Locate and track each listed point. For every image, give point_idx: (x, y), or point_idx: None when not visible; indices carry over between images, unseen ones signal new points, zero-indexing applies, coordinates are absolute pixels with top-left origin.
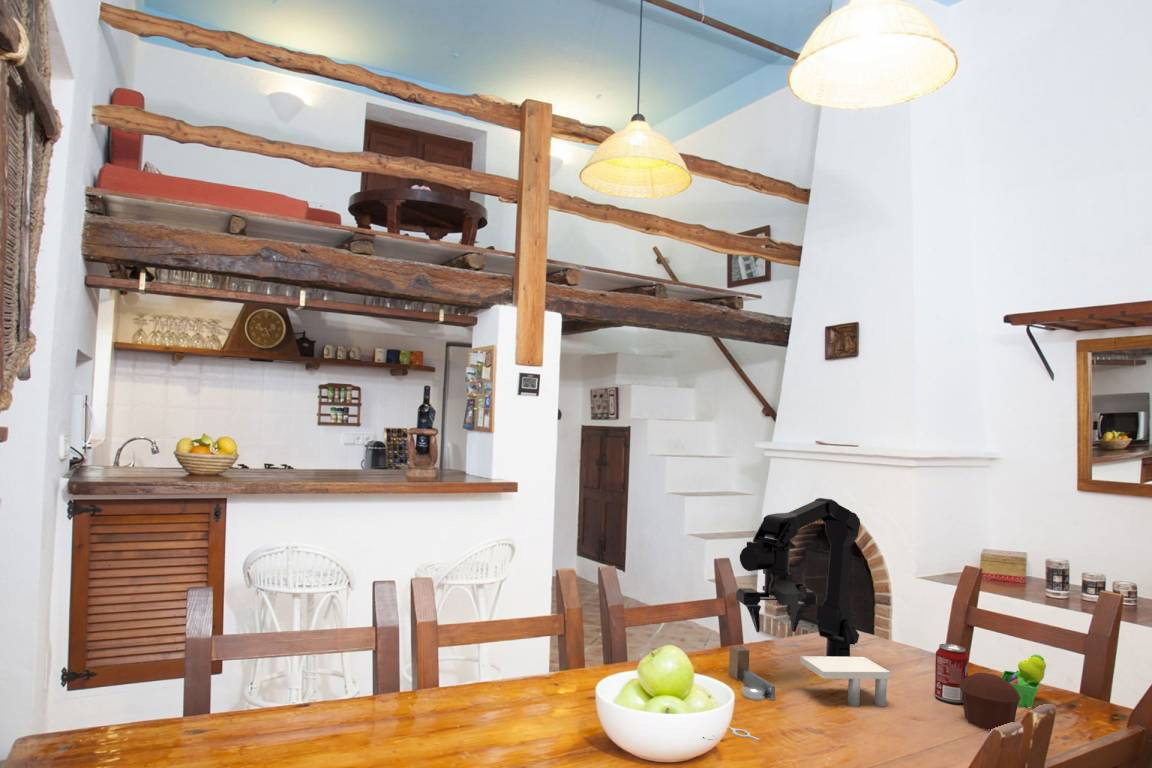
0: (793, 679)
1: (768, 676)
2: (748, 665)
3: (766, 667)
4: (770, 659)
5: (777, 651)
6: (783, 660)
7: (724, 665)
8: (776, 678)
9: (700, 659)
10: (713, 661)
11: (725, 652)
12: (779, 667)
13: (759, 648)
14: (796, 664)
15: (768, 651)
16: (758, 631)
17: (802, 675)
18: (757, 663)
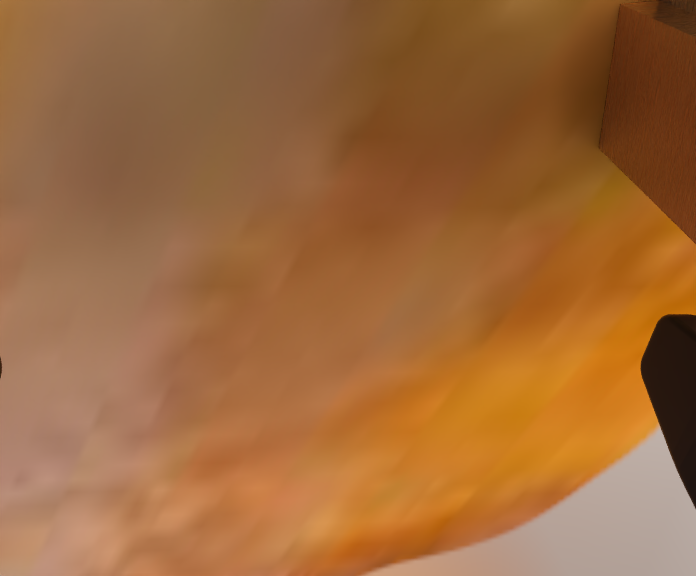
0: (164, 13)
1: (370, 102)
2: (691, 31)
3: (284, 298)
4: (185, 430)
5: (87, 536)
6: (98, 416)
7: (574, 332)
8: (321, 47)
9: (655, 422)
10: (597, 395)
11: (420, 516)
12: (180, 298)
13: (182, 567)
14: (23, 352)
15: (145, 535)
16: (688, 321)
17: (40, 121)
18: (313, 367)
